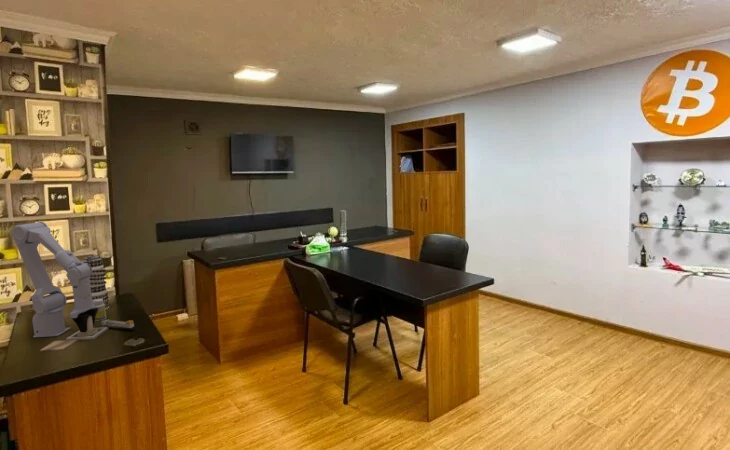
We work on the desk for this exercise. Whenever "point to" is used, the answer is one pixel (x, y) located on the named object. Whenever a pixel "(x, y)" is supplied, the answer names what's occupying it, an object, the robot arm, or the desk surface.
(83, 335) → the plug
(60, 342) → the coaster
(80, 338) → the socket
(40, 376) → the desk surface
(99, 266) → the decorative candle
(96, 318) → the supplement bottle
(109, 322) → the clip
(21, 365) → the desk surface
